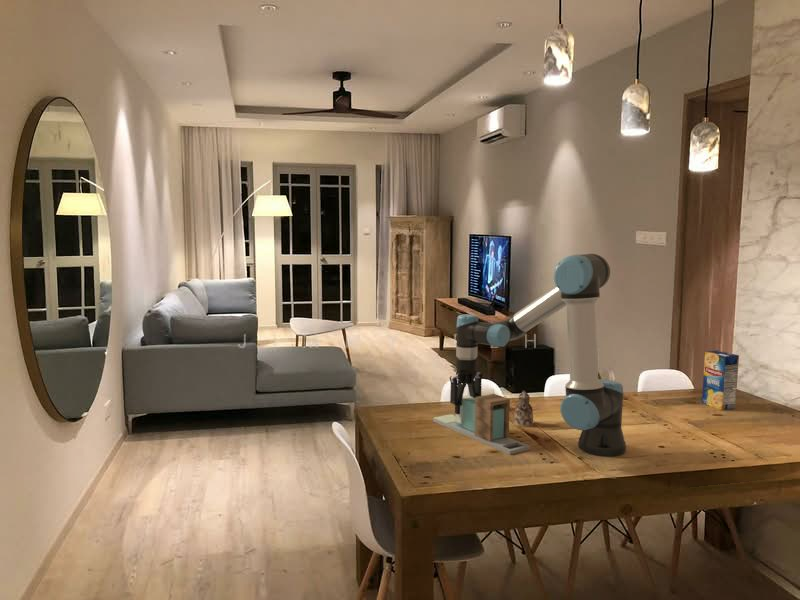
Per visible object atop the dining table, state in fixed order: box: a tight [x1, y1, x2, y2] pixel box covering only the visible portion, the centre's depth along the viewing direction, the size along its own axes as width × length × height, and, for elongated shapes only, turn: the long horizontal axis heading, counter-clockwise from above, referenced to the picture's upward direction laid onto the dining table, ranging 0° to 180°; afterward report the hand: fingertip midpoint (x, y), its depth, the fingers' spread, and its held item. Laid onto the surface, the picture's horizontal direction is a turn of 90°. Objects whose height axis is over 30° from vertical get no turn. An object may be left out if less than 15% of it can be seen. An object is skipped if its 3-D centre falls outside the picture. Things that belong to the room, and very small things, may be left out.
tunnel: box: [475, 393, 511, 442], centre depth 227 cm, size 8×8×14 cm
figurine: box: [513, 390, 534, 428], centre depth 246 cm, size 7×7×12 cm
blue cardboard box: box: [701, 349, 740, 411], centre depth 271 cm, size 7×11×22 cm, turn 18°
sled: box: [456, 394, 504, 440], centre depth 233 cm, size 20×5×10 cm, turn 33°
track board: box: [432, 413, 531, 456], centre depth 234 cm, size 42×9×1 cm, turn 33°
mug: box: [467, 388, 495, 396], centre depth 269 cm, size 12×10×8 cm
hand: (465, 421), depth 240 cm, fingers closed on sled, 5 cm apart
